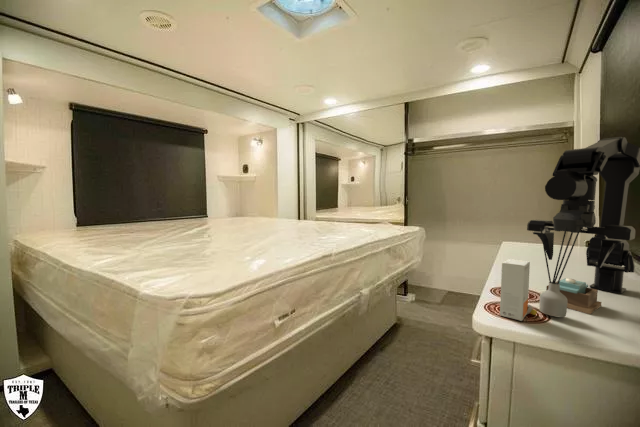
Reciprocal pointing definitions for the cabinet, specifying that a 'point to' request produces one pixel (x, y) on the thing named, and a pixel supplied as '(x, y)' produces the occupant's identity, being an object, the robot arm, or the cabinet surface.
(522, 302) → the skincare box
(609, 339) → the cabinet surface
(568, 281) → the block
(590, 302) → the pocket holder
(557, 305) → the reed diffuser
